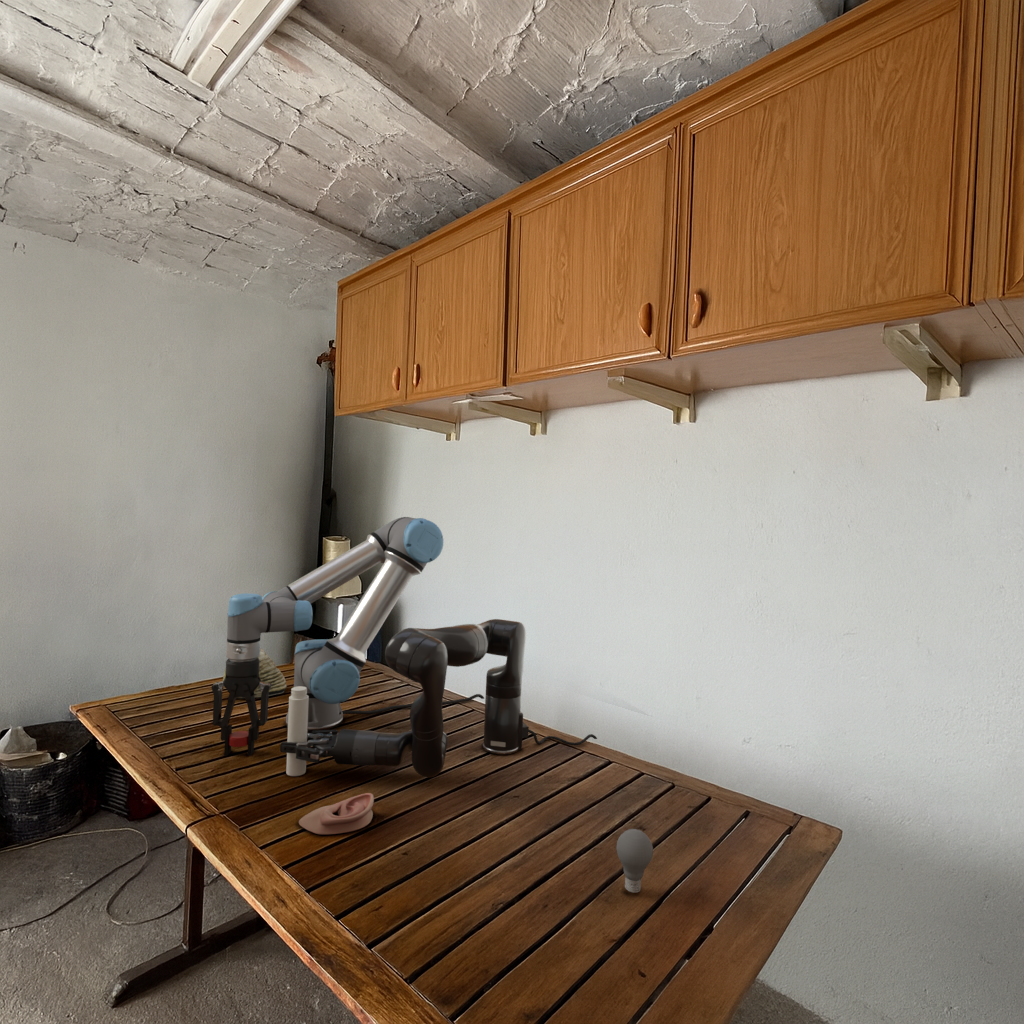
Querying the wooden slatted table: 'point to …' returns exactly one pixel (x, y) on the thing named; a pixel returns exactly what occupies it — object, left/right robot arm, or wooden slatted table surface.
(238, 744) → the lid
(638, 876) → the light bulb
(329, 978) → the wooden slatted table surface
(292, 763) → the white tube
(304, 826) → the anatomical model
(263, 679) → the fossil
